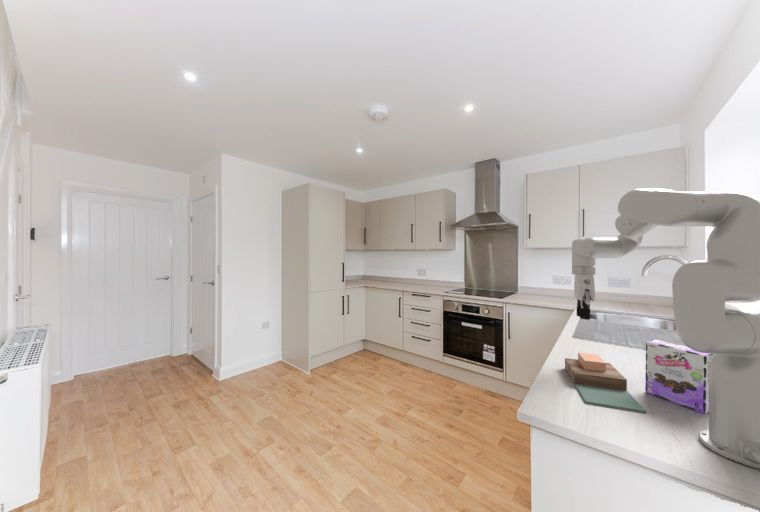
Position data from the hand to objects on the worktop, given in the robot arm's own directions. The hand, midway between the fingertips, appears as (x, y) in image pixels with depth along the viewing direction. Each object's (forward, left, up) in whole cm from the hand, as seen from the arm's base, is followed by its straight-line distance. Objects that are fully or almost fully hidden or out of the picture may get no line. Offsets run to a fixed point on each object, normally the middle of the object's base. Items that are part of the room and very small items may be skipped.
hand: (583, 317), depth 113 cm
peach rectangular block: (-11, 0, -15) cm, 19 cm away
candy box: (-21, -19, -20) cm, 34 cm away
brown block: (-13, 0, -19) cm, 23 cm away
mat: (-27, 0, -19) cm, 33 cm away
